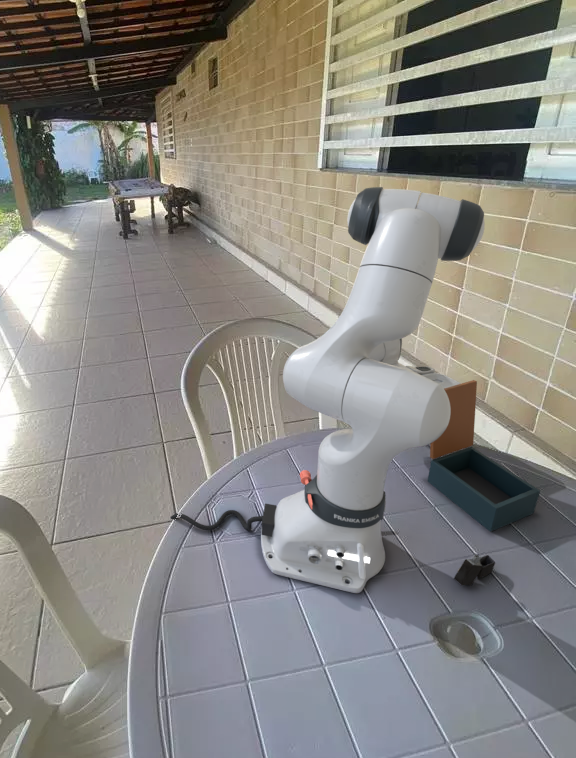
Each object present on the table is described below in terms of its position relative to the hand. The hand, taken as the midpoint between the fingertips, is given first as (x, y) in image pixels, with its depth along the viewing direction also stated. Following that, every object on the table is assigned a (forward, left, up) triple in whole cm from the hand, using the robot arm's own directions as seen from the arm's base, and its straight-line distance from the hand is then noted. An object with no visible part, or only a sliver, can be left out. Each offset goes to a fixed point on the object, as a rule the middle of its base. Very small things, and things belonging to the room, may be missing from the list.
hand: (450, 413), depth 91 cm
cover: (+1, -1, -1) cm, 2 cm away
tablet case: (+4, -8, -15) cm, 17 cm away
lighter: (-6, -27, -15) cm, 32 cm away
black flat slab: (+4, -8, -15) cm, 17 cm away
